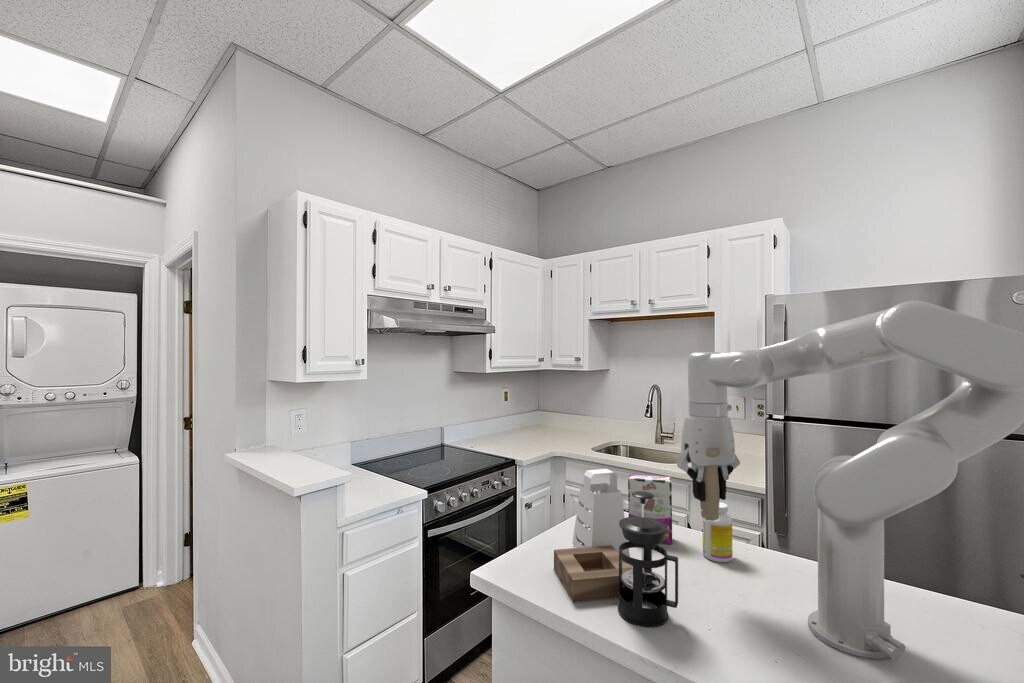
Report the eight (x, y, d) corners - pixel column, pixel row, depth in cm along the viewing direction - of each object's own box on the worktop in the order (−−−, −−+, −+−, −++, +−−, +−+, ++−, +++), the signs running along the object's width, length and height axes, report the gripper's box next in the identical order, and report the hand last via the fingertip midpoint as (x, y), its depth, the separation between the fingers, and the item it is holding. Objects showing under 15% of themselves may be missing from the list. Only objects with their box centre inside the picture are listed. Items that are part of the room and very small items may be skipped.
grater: (572, 545, 119) (572, 467, 119) (608, 540, 122) (608, 464, 122) (590, 563, 109) (591, 478, 109) (630, 558, 112) (630, 475, 112)
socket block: (638, 596, 95) (638, 574, 95) (573, 602, 92) (573, 580, 92) (611, 564, 109) (611, 545, 109) (553, 569, 106) (553, 549, 106)
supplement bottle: (738, 560, 111) (738, 507, 111) (717, 565, 108) (717, 510, 108) (717, 549, 117) (717, 498, 117) (696, 553, 114) (696, 501, 115)
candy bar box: (671, 537, 124) (671, 476, 124) (672, 545, 119) (672, 481, 119) (628, 532, 127) (629, 472, 128) (627, 539, 123) (627, 477, 123)
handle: (722, 515, 98) (721, 444, 99) (722, 525, 93) (720, 450, 93) (698, 512, 100) (696, 442, 101) (696, 522, 95) (695, 448, 95)
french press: (608, 618, 87) (608, 495, 87) (621, 594, 95) (621, 482, 96) (673, 636, 82) (673, 505, 82) (681, 609, 90) (681, 491, 90)
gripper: (731, 407, 102) (733, 490, 102) (662, 409, 99) (663, 496, 99) (755, 411, 95) (757, 501, 94) (681, 414, 92) (682, 507, 91)
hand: (709, 497), depth 97 cm, fingers closed on handle, 4 cm apart
